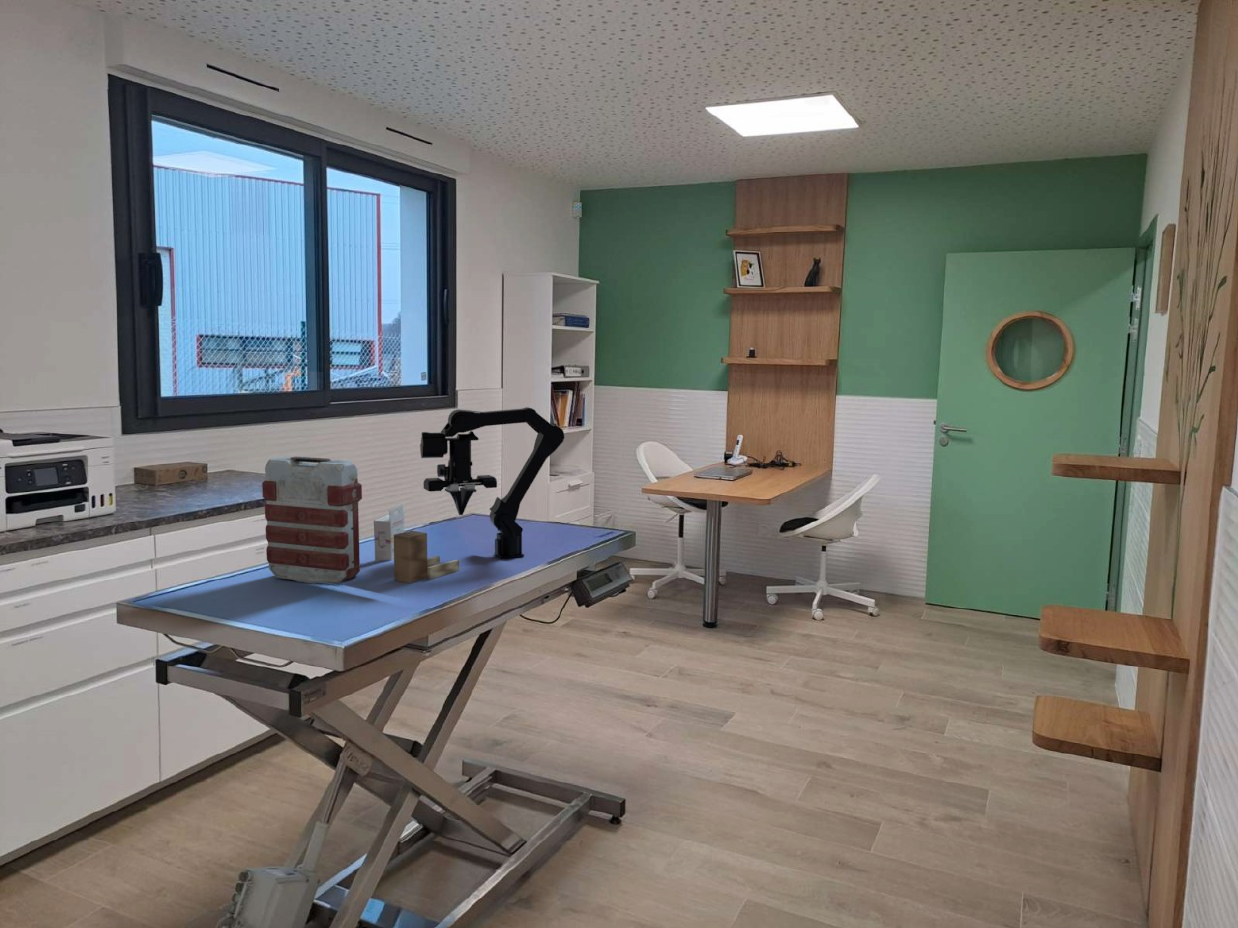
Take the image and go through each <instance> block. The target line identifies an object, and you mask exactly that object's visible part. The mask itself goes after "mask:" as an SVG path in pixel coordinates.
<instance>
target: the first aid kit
mask: <svg viewBox="0 0 1238 928" xmlns="http://www.w3.org/2000/svg"><path fill="white" fill-rule="evenodd" d="M264 473H265V476H264V477H265V478H264V479H265V480H264V481H262V482H261V486H262V488H261V489H262V491H261V493H262V498H263V499H265V502H266V503H265V504H264V518H265V520H266V525H265V540H266V541H267V546H266V548H265V551H266V553H265V554H266V561H267V563H268V570H270V572H271V573H272V574H273V576H274V577H275V578H276V579H283V580H293V581H295V582H298V583H299V582H300V583H306V584H307V583H308V584H316V585H317V584H326V585H328V584H329V585H335V586H340V585H343V583H340V582H345V581H348V580H351V579H353V578H355V577H356V576H357V575H358V574H359V573H360V571H361V566H360V565H361V562H360V561H361V560H360V527H359V525H360V522H359V520H360V519H359V502H360V501H362V499H363V490H362V489H363V488H362V487H363V486H362V483H360V482H359V481H358V478H359V477H358V475H359V474H358V469H357V465H356V464H355V463H354V462H353V461H352V460H340V459H330V458H321V457H309V456H293V457H292V456H279V457H274V458H273V457H272V458H269V459H268V460H267V462H266V464H265V467H264Z"/></svg>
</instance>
